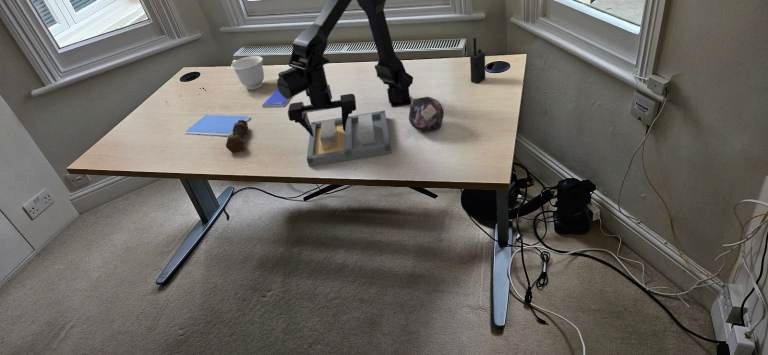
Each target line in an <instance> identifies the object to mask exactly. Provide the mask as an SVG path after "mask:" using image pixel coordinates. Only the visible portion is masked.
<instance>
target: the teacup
mask: <svg viewBox="0 0 768 355" xmlns="http://www.w3.org/2000/svg"><path fill="white" fill-rule="evenodd" d="M263 60H264V58H263V57H262V56H259V55H251V56H246V57H242V58H239V59H237V60H236V59H234V60H232V62H231V65H230V67H231V68H232V70H234V71H235V74H236V75H237V76H236V77H237V78H238V80H239V82H240V83H241V84H242V85H243V86H245V87H247V90H257V89H259V88H261V87H262V86H263V83H262V82H263V81H264V79H265V74H264V69H263V68H264V67H263Z"/></svg>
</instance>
